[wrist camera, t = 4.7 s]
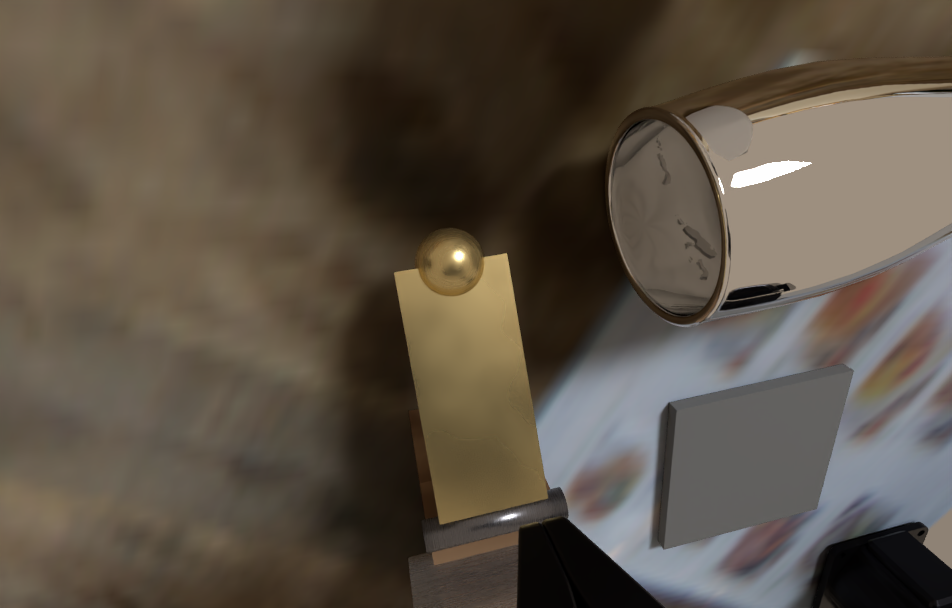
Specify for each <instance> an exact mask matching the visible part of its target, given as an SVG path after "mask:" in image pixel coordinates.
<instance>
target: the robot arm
mask: <svg viewBox="0 0 952 608" xmlns="http://www.w3.org/2000/svg"><path fill="white" fill-rule="evenodd" d="M927 533H928V528H927V527H926V526H925V525H924V524H923V523H921V522H916V523H912V524H909V525H905V526H902V527H898V528H894V529H891V530H887V531H884V532H880V533H877V534H873V535H869V536H866V537H862V538H859V539H855V540H852V541H848V542H844V543H841V544H838V545H835V546H834V547H832V548H831V550H830V551H829V554H828V557H827V561H826V564H825V568H824V571H823V574H822V578H821V581H820V584H819V588H818V591H817V594H816V598H815V601H814V604H813V608H952V569H951V568H950V567H948V566H947V565H946V564H945V563H944V562H943V561H941V560H940V559H939V558H938V557H937V556H936V555H935V554H933V553H932V552H931V551H930V550H929V549H928V548H926V547H925V546H924V545H923V542H924V540H925V537H926V535H927ZM517 608H665V607H664V606H663V605H662V604H661V603H660V602H658V601H657V600H656V599H655V598H654V597H653V596H652V595H651V594H650V593H649V592H647V591H646V590H645V589H644V588H643V587H642V586H641V585H640V584H639V583H637V582H636V581H635V580H634V579H633V578H632V577H631V576H630V575H629V574H628V573H626V572H625V571H624V570H623V569H622V568H621V567H620V566H619V565H618V564H617V563H615V562H614V561H613V560H612V559H611V558H610V557H609V556H608V555H607V554H606V553H604V552H603V551H602V550H601V549H600V548H599V547H598V546H597V545H596V544H594V543H593V542H592V541H591V540H590V539H589V538H588V537H587V536H586V535H585V534H583V533H582V532H581V531H580V530H579V529H578V528H577V527H576V526H575V525H574V524H572V523H571V522H570V521H569V520H568V519H567V518H565V517H563V516H558V517H554V518H550V519H546V520H544V521H543V522H542V524H541V523H540V522H533V523H529V524H525V525H522V526H520V527H519V533H518V572H517Z"/></svg>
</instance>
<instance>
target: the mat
mask: <svg viewBox="0 0 952 608" xmlns="http://www.w3.org/2000/svg"><path fill="white" fill-rule="evenodd" d="M853 372H854V370H852V369H851V368H849V367H847V366H846V365H844V364H840V365H836V366H831V367H827V368H822V369H818V370H813V371H809V372H804V373H800V374H795V375H791V376H786V377H782V378H777V379H773V380H769V381H764V382H760V383H755V384H751V385H746V386H742V387H737V388H733V389H728V390H724V391H719V392H715V393H710V394H706V395H701V396H697V397H692V398H688V399H683V400H679V401H674V402H670V403H669V415H668V426H667V438H666V450H665V462H664V474H663V486H662V498H661V509H660V521H659V533H658V541H659V543H660V544H661V546H662V547H663V549H668V548H672V547H676V546H679V545H683V544H687V543H691V542H694V541H698V540H702V539H706V538H709V537H713V536H717V535H721V534H724V533H728V532H732V531H736V530H739V529H743V528H747V527H751V526H754V525H758V524H762V523H766V522H769V521H773V520H777V519H781V518H784V517H788V516H792V515H796V514H799V513H803V512H807V511H811V510H814V509H817V506H818V502H819V498H820V494H821V491H822V487H823V483H824V480H825V476H826V472H827V468H828V465H829V461H830V457H831V454H832V450H833V446H834V442H835V439H836V435H837V431H838V427H839V424H840V420H841V416H842V413H843V409H844V405H845V401H846V398H847V394H848V390H849V387H850V383H851V379H852V375H853Z"/></svg>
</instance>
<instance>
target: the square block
mask: <svg viewBox="0 0 952 608" xmlns="http://www.w3.org/2000/svg"><path fill="white" fill-rule="evenodd" d="M408 562H409V571H410V580H411V589H412V598H413V607H414V608H517V572H518V544H517V545H513V546H509V547H505V548H501V549H497V550H493V551H489V552H486V553H482V554H478V555H474V556H470V557H466V558H462V559H458V560H454V561H450V562H446V563H442V564H438V565H434V561H433V556H432V553H428V554H427V553H424V554H420V555H416V556H412V557H408Z"/></svg>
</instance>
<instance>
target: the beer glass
mask: <svg viewBox="0 0 952 608" xmlns="http://www.w3.org/2000/svg"><path fill="white" fill-rule="evenodd" d="M605 200H606V210H607V217H608V222H609V227H610V232H611V236H612V239H613V243H614V246H615V249H616V252H617V255H618V258H619V260H620V263H621V265H622V267H623V270H624V272H625V274H626V276H627V278H628V280H629V281H630V283H631V285H632V287H633V288H634V290H635V291H636V293H637V294H638V296H639V297H640V298H641V300H642V301H643V302H644V303H645V304H646V306H647V307H648V308H649V309H650V310H651V311H652V312H653V313H655V314H656V315H657V316H658V317H660V318H661V319H663V320H664V321H666V322H668V323H670V324H673V325H676V326H680V327H693V326H697V325H700V324H702V323H705V322H709V321H713V320H718V319H723V318H728V317H733V316H738V315H743V314H748V313H753V312H757V311H762V310H767V309H771V308H776V307H780V306H784V305H788V304H792V303H795V302H799V301H803V300H807V299H810V298H814V297H818V296H821V295H824V294H827V293H830V292H833V291H836V290H839V289H842V288H845V287H848V286H850V285H853V284H856V283H859V282H862V281H865V280H867V279H869V278H871V277H873V276H876V275H878V274H880V273H882V272H884V271H886V270H889V269H891V268H893V267H895V266H897V265H900V264H902V263H904V262H906V261H908V260H910V259H912V258H913V257H915V256H917V255H919V254H921V253H923V252H925V251H927V250H929V249H930V248H932V247H934V246H936V245H938V244H940V243H942V242H944V241H945V240H947V239H949V238H951V237H952V56H940V57H868V58H852V59H840V60H828V61H817V62H811V63H806V64H800V65H795V66H790V67H785V68H779V69H774V70H769V71H766V72H762V73H758V74H754V75H751V76H747V77H743V78H739V79H736V80H732V81H728V82H725V83H722V84H719V85H716V86H713V87H709V88H706V89H703V90H700V91H697V92H694V93H691V94H688V95H685V96H682V97H679V98H676V99H673V100H671V101H667V102H664V103H661V104H658V105H655V106H651V107H644V108H640V109H638V110H636V111H634V112H632V113H631V114H630V115H628V116H627V117H626V118H625V119H624V121H623V122H622V123H621V124H620V126H619V127H618V129H617V131H616V133H615V135H614V137H613V140H612V142H611V145H610V149H609V153H608V157H607V164H606V173H605Z"/></svg>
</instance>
